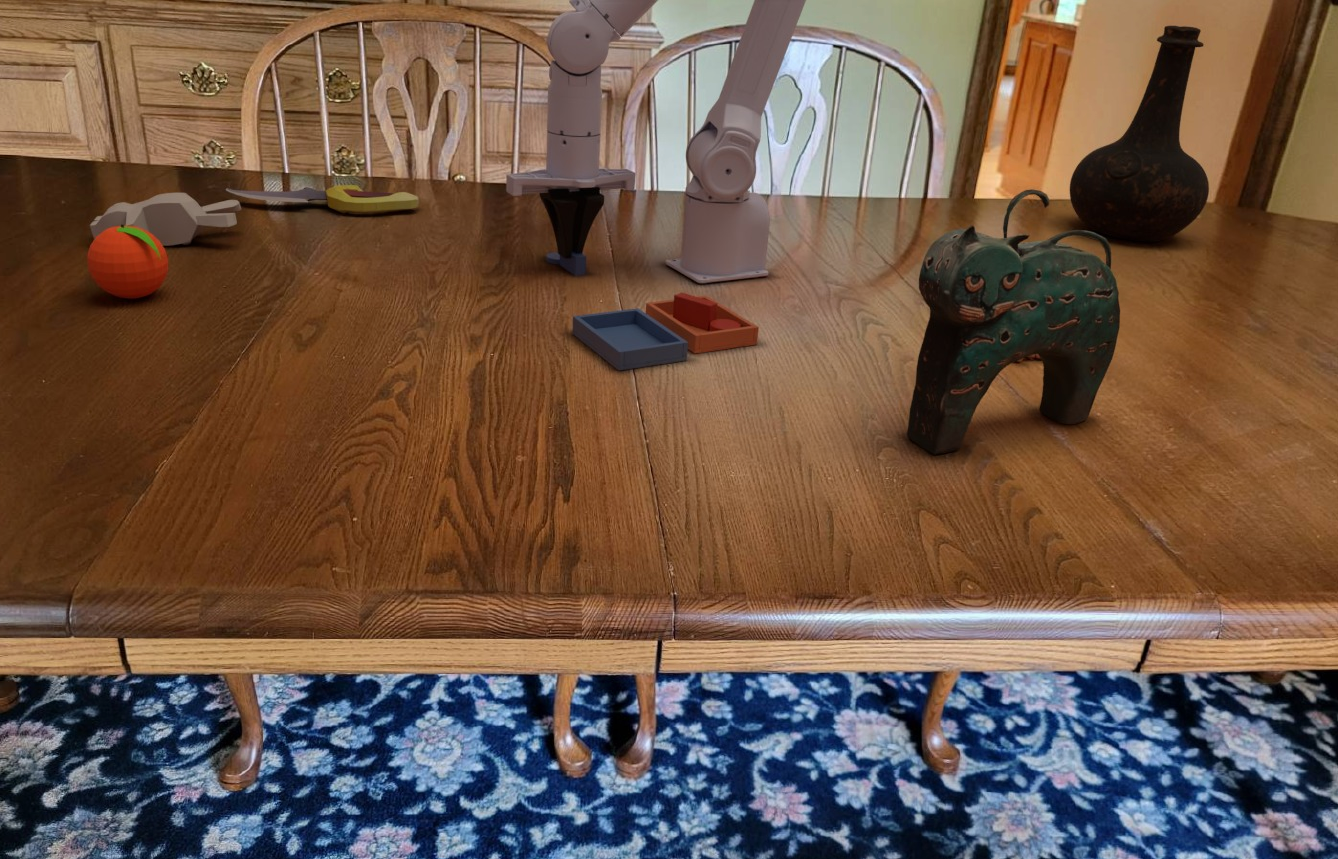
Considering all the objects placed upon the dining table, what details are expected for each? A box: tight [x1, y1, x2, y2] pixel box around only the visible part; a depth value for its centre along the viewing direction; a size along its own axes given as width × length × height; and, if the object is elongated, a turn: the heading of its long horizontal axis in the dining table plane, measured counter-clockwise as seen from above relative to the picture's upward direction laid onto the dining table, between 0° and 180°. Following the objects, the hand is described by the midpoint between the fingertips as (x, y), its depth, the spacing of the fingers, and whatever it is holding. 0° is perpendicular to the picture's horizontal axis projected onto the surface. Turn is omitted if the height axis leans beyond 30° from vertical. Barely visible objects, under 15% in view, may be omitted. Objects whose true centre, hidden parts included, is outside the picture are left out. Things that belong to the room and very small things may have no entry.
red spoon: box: [673, 292, 741, 332], centre depth 103 cm, size 7×3×3 cm, turn 53°
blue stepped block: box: [545, 251, 587, 277], centre depth 120 cm, size 7×3×3 cm, turn 29°
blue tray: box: [572, 307, 688, 372], centre depth 98 cm, size 7×10×2 cm
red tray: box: [645, 295, 760, 354], centre depth 103 cm, size 7×10×2 cm
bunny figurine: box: [89, 192, 242, 247], centre depth 118 cm, size 10×5×15 cm
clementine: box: [87, 224, 169, 300], centre depth 100 cm, size 8×7×7 cm
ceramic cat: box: [906, 188, 1121, 456], centre depth 82 cm, size 20×6×20 cm, turn 117°
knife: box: [225, 184, 420, 214], centre depth 136 cm, size 8×3×25 cm
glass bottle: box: [1069, 25, 1210, 243], centre depth 145 cm, size 18×18×28 cm
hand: (569, 255), depth 118 cm, fingers closed on blue stepped block
